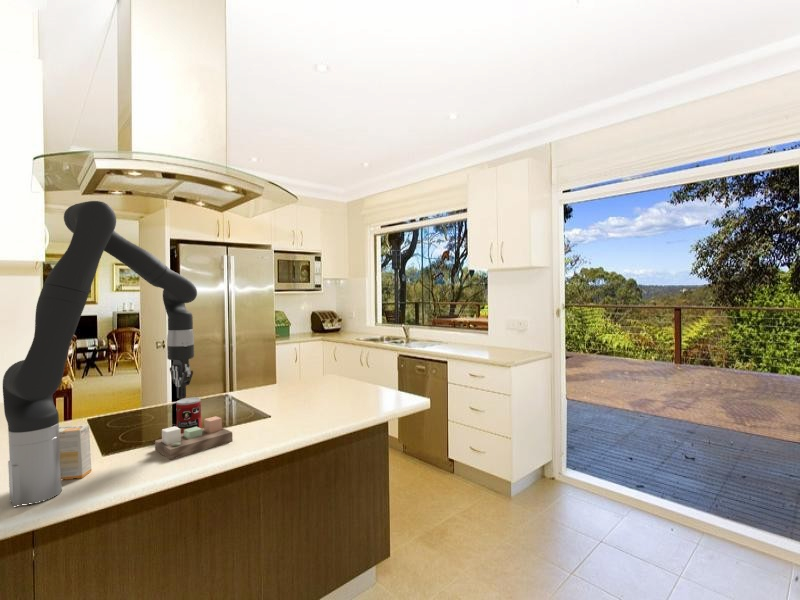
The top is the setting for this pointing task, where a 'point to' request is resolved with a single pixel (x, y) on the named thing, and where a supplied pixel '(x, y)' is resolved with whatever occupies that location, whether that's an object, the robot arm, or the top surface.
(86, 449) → the supplement box
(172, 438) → the off-white button
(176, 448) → the button box
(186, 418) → the canned food
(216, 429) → the pink cube
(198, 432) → the sage green button
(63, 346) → the robot arm
